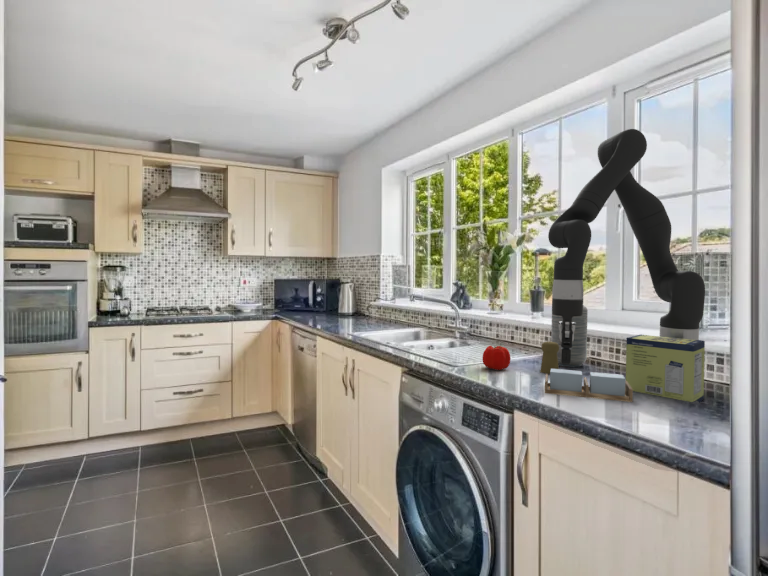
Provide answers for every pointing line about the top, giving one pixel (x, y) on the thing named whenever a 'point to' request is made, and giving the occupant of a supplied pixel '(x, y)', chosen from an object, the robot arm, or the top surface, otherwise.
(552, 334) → the vase
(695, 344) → the protein box
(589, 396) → the rack
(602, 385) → the pale blue sponge block
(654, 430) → the top surface
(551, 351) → the cork
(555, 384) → the grey blue block
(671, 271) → the robot arm
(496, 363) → the tomato
